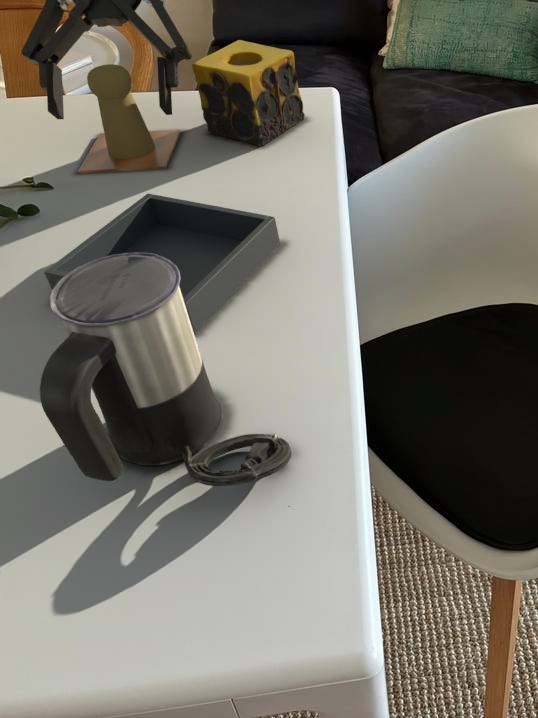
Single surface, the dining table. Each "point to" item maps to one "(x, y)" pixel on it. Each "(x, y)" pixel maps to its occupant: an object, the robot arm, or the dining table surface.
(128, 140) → the pepper shaker
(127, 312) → the milk frother
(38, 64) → the robot arm
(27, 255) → the dining table surface
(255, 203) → the dining table surface
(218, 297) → the tray
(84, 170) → the coaster
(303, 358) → the dining table surface
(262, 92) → the candle
